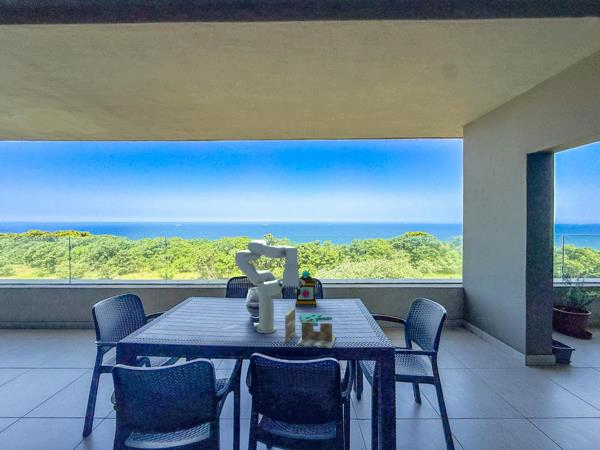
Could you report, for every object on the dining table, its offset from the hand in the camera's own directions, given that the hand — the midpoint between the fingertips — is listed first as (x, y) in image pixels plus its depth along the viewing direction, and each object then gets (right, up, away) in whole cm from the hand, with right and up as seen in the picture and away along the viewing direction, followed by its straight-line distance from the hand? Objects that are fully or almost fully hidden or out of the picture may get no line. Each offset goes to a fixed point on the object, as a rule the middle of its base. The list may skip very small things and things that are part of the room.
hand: (291, 294), depth 198 cm
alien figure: (+15, -27, +37) cm, 48 cm away
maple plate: (0, -26, -1) cm, 26 cm away
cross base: (+16, -26, -7) cm, 31 cm away
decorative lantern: (+11, -26, +79) cm, 84 cm away
